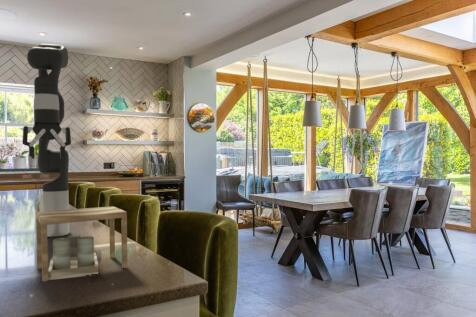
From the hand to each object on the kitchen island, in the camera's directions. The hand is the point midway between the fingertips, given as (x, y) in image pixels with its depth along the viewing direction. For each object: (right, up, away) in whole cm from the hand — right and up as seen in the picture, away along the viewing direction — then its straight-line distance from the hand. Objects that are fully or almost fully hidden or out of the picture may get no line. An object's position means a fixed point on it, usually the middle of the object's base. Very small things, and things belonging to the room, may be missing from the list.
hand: (47, 158), depth 131 cm
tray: (+17, -31, -19) cm, 40 cm away
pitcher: (-21, -30, +48) cm, 60 cm away
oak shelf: (+20, -30, -21) cm, 42 cm away
